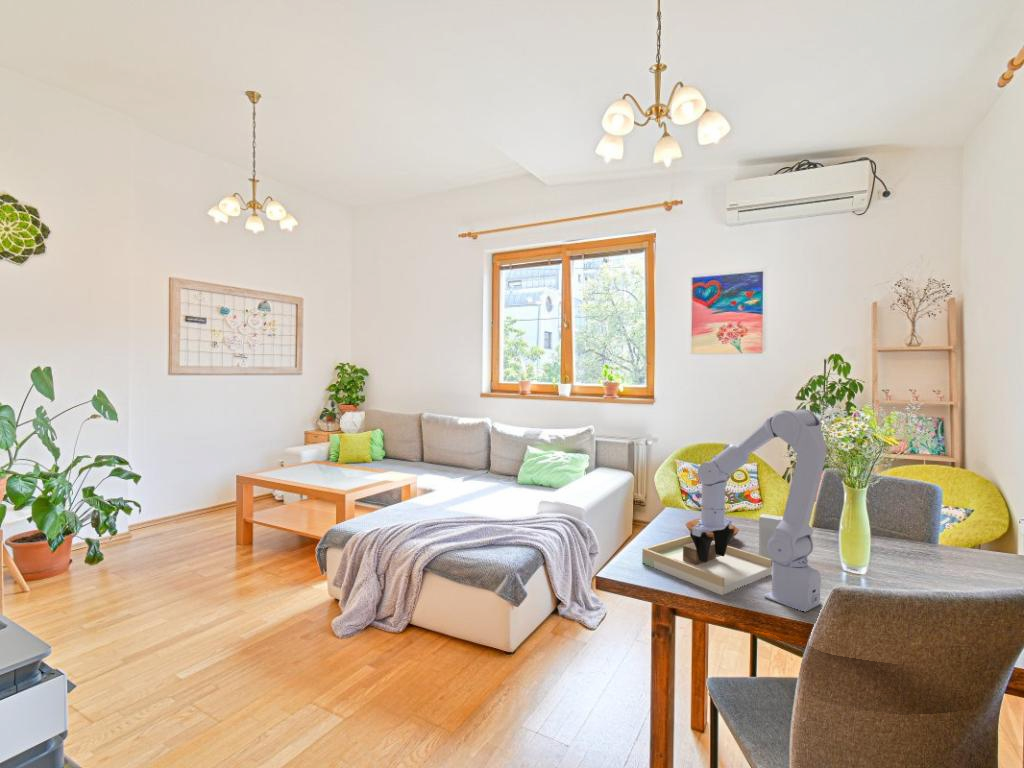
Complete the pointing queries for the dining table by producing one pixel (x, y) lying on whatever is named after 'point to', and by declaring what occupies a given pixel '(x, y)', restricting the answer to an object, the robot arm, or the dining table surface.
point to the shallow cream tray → (708, 566)
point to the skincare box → (767, 532)
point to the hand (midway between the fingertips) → (711, 558)
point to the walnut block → (691, 553)
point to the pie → (710, 534)
